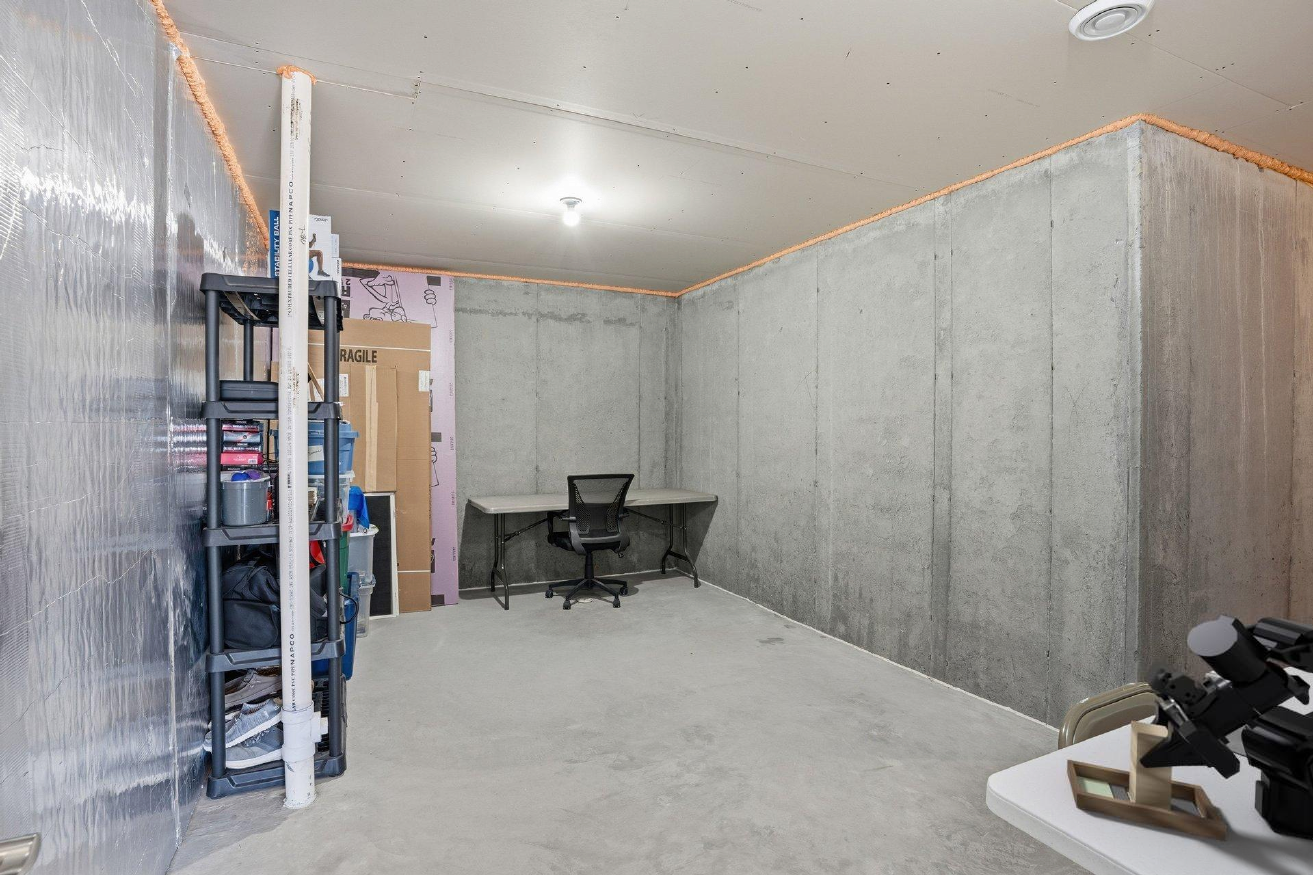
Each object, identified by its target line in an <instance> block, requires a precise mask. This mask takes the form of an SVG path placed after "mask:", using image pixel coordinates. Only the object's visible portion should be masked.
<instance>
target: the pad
mask: <svg viewBox="0 0 1313 875" xmlns="http://www.w3.org/2000/svg"><path fill="white" fill-rule="evenodd" d="M1077 779H1078V783H1079V786H1080V789H1081V791H1083V792H1088V793H1092V794H1097V795H1102V796H1106V797H1111V798H1115V796H1114V794H1113V791H1112V788H1111V786H1110V784H1108V782H1104V781H1099V780H1094V779H1089V778H1085V777H1080V776H1077Z"/></svg>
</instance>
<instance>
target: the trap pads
mask: <svg viewBox="0 0 1313 875" xmlns="http://www.w3.org/2000/svg"><path fill="white" fill-rule="evenodd" d="M1109 786H1110V789H1111V792H1112V794H1113V797H1114V798H1116V799H1120V800H1125V801H1130V797H1128V796H1129V795H1128V794H1127V792H1126V789H1125V787H1124V786H1123V785H1118V784H1113V783H1110V784H1109ZM1196 807H1197V806H1196V804H1195V803H1194V801H1192V800H1190V799H1185V798H1181V797H1176V796H1171V811H1176V812H1180V813H1185V814H1190V815H1194V816H1199V817H1202V815H1201V813H1200V811H1199V810H1198V808H1196Z"/></svg>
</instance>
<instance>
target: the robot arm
mask: <svg viewBox="0 0 1313 875" xmlns="http://www.w3.org/2000/svg"><path fill="white" fill-rule="evenodd" d="M1186 640H1187V645H1188V647H1189V649H1190V650H1191V651H1192V653H1194V654H1195V655H1196V656H1197V657H1198V658H1199V659H1201V660H1202V662H1203V663H1204V664H1206V666H1208V667H1209V668H1210V669H1212V670H1211V671H1214V672H1216V673H1217V674H1218V675H1219V676H1220V678H1218V679H1217V680H1215V681H1214V680H1212V679H1211V678H1210V677H1208V678H1207V677H1206V676H1204V677H1202V678H1200V679H1198V680H1196V679H1195V678H1193V677H1192V676H1190V675H1188V674H1186V673H1184V672H1182V671H1181V670H1178V669H1177V668H1174V667H1172V666H1170V665H1168V664H1166V663H1164V662H1163V661H1161V660H1158V659H1154V661H1153V662H1152V664H1151V665H1150V666H1149V668H1148V669H1147V671H1146V672H1145V673H1144V675H1143V678H1144V680H1146V682H1147V685H1148V687H1150V689H1151V690H1152V692H1153V693H1154V695H1155V696H1157V698H1161V699H1162V702H1159V701H1158V700H1157V699H1155V698H1154V701H1153V702H1154V703H1153V704H1154V710H1155V711H1154V712H1155V714H1154V718H1153V719H1152V721H1151V722H1150V724H1154V725H1159V726H1165V727H1166V729H1167V730H1168V735H1167V737H1166V738H1164V739H1163V740H1162V741H1161V742H1160V743H1158V744H1157V745H1156V746H1155V747H1153V748H1152V749H1151V750H1150V751H1149V752H1147V753H1146V754H1145V755H1144V756H1143V757H1142V758H1141V759H1140V760H1139V762H1140V763H1141V764H1142V765H1143V766H1144V767H1145V768H1157V767H1172V768H1173V767H1207V768H1209V769H1211V768H1214V769H1215V770H1216V771H1217V773H1219V774H1220V775H1221V776H1222V777H1223V778H1224V779H1225V780H1228V779H1230V778H1231V777H1233V776H1234V775H1237V774H1239V773H1240V772H1241V761H1240V759H1239V758H1238V757H1237V756H1236V754H1235V752H1233V751H1231V749H1230V748H1229V747H1228V746H1226V744H1228V743H1230V741H1229V740H1228V739H1227V738H1226V736H1227V735H1229V734H1231V733H1232V732H1234V731H1236V730H1238V729H1239V728H1241V727H1243V726H1244V725H1245V727H1244V728H1243V730H1242V733H1241V740H1242V743H1243V746H1244V750H1245V753H1246V759H1247V762H1248V765H1249V766H1251V767H1252V768H1255V769H1258V770H1259V771H1260V780H1259V779H1256V780H1255V788H1254V789H1255V791H1254V806H1253V807H1254V809H1255V810H1256V812H1257V813H1258V814H1259V815H1260V817H1261V818H1262V819H1263V820H1264V822H1265V823H1266V825H1267V826H1268V827H1269V829H1270V830H1272V831H1274V832H1276V833H1281V834H1286V835H1291V836H1295V837H1300V838H1305V839H1309V840H1313V710H1312V711H1310V712H1308V713H1305V714H1303V713H1300V712H1297V711H1296V710H1293V709H1290V708H1288V707H1285V706H1283V705H1282V704H1284V703H1285V702H1287V701H1289V700H1291V699H1292V698H1293V697H1294V698H1295V699H1296V700H1297V701H1299V703H1300V704H1302V705H1303V706H1308V705H1309V704H1310V698H1311V697H1310V690H1311V689H1310V688H1311V685H1310V684H1309V683H1308V682H1307V681H1306V680H1304V679H1303V678H1302V677H1301V676H1299V675H1296V674H1289V672H1287V671H1286V669H1284V668H1283V667H1282V666H1281V665H1279V664H1282V665H1284V666H1287V667H1290V668H1292V669H1293V668H1294V669H1295V670H1296V669H1297V670H1298V671H1302V672H1305V673H1308V674H1313V624H1311V623H1305V622H1300V621H1297V620H1291V619H1286V618H1280V617H1273V616H1266V617H1262V618H1261V619H1258V620H1257V623H1254V624H1251V625H1248V626H1245V625H1244V623H1243V622H1242V621H1240V620H1239V618H1237V617H1233V616H1229V615H1226V614H1221V615H1220V616H1219V617H1218V619H1217V620H1209V621H1205V622H1203V623H1200V624H1199V625H1197V626H1194V627H1192V629H1191V630H1190V632H1189V633H1188V635H1187V639H1186ZM1269 660H1270V661H1269ZM1221 677H1222V678H1223V679H1224V680H1225V681H1224V680H1223V679H1222V678H1221Z"/></svg>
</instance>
